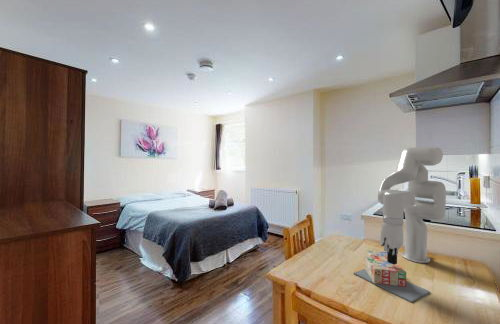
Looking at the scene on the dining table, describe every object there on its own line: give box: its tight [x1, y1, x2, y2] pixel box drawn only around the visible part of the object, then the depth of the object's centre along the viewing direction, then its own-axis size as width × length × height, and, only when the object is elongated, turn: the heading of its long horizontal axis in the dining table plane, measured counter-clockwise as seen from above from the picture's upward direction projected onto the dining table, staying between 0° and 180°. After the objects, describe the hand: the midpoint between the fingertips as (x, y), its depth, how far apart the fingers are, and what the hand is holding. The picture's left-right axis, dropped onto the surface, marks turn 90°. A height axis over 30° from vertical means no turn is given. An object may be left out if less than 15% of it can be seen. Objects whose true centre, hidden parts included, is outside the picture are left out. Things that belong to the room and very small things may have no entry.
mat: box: [353, 268, 431, 304], centre depth 98 cm, size 14×24×1 cm, turn 29°
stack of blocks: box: [364, 250, 407, 287], centre depth 105 cm, size 21×6×12 cm
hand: (392, 262), depth 99 cm, fingers closed
